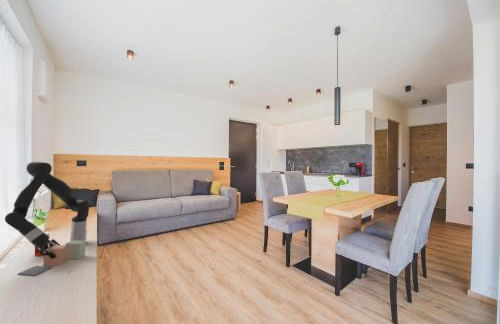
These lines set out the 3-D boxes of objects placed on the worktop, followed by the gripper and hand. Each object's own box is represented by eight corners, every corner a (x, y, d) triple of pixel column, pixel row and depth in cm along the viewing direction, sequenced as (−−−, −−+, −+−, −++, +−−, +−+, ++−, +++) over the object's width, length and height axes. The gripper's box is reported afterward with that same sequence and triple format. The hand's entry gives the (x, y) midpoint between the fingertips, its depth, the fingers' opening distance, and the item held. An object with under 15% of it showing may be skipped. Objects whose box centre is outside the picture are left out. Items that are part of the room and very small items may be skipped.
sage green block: (64, 259, 144) (65, 243, 144) (70, 255, 150) (71, 240, 150) (79, 259, 145) (80, 243, 145) (84, 255, 151) (85, 240, 151)
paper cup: (38, 257, 144) (40, 235, 144) (29, 255, 145) (31, 234, 146) (51, 253, 152) (53, 232, 152) (42, 251, 153) (44, 231, 153)
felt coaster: (36, 266, 132) (36, 265, 132) (52, 267, 131) (52, 266, 131) (17, 274, 122) (17, 273, 122) (34, 276, 121) (34, 275, 121)
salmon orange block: (43, 265, 133) (44, 249, 134) (49, 261, 139) (50, 245, 139) (61, 264, 136) (62, 248, 136) (66, 260, 142) (67, 244, 142)
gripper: (35, 236, 129) (57, 255, 132) (49, 229, 143) (69, 246, 146) (23, 245, 127) (45, 264, 130) (39, 237, 141) (59, 255, 144)
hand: (58, 255), depth 138 cm, fingers open, 7 cm apart
